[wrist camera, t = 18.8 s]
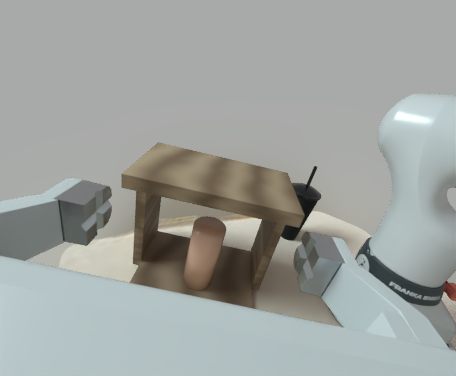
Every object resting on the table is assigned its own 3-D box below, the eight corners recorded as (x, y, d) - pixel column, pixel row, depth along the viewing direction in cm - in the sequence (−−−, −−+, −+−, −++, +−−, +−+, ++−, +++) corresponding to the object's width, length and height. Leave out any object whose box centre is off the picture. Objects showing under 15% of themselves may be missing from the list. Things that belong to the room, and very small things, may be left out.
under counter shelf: (255, 256, 52) (287, 173, 43) (259, 314, 40) (304, 215, 30) (150, 233, 51) (158, 142, 42) (120, 285, 39) (121, 173, 29)
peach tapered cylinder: (212, 269, 45) (226, 220, 40) (209, 292, 40) (225, 240, 35) (185, 264, 45) (196, 213, 39) (180, 287, 40) (191, 233, 34)
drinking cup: (268, 233, 61) (295, 163, 52) (278, 221, 67) (304, 157, 58) (295, 248, 58) (329, 177, 49) (304, 234, 64) (335, 169, 55)
